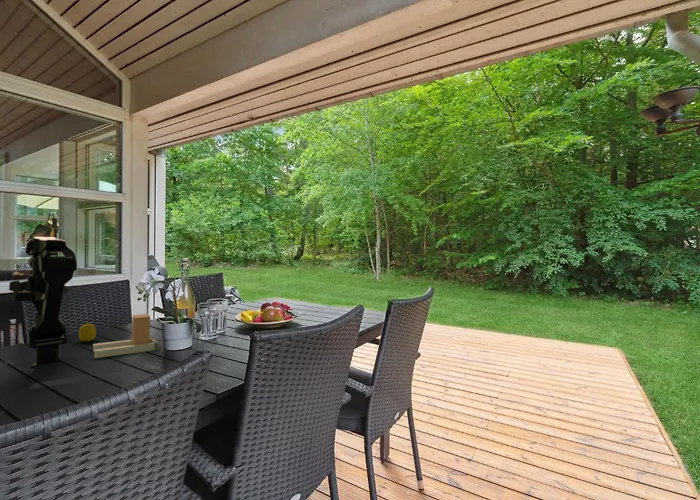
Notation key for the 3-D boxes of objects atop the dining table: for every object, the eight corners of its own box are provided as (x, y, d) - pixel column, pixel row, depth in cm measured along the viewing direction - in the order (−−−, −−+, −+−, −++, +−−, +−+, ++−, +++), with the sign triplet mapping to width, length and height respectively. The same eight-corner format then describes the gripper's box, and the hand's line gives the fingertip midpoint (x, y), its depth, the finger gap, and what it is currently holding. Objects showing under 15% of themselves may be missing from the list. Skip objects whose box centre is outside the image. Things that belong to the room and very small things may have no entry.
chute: (94, 361, 120) (94, 351, 120) (92, 353, 128) (93, 344, 128) (158, 352, 132) (158, 343, 132) (153, 345, 140) (153, 336, 140)
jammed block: (133, 350, 129) (134, 317, 129) (131, 347, 133) (132, 315, 133) (149, 348, 132) (150, 316, 132) (147, 345, 136) (147, 314, 136)
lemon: (88, 345, 136) (89, 324, 136) (74, 345, 137) (75, 324, 136) (99, 341, 142) (99, 321, 142) (85, 340, 142) (86, 320, 142)
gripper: (35, 269, 132) (34, 311, 133) (-6, 274, 114) (-7, 323, 114) (69, 270, 134) (68, 311, 135) (34, 275, 116) (33, 323, 116)
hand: (42, 317), depth 125 cm, fingers closed
